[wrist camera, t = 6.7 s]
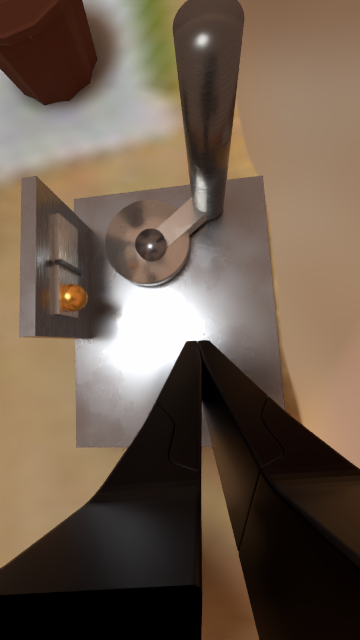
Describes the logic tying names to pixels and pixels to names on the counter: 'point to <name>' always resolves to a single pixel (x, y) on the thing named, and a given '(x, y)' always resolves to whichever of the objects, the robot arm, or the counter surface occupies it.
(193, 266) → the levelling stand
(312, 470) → the robot arm
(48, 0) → the muffin
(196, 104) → the crank handle
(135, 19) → the counter surface
